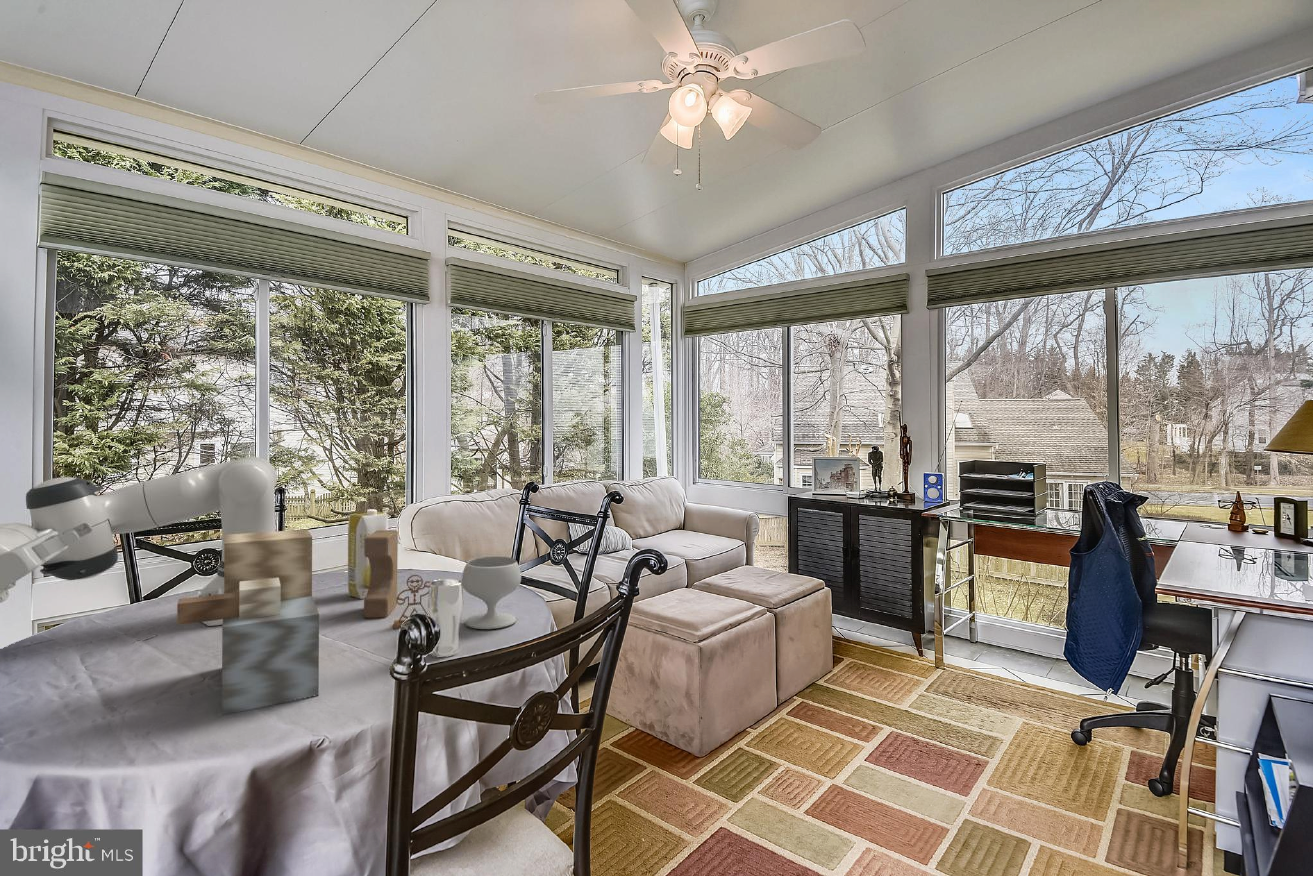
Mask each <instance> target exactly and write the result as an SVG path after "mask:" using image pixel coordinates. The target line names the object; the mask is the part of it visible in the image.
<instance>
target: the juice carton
mask: <svg viewBox="0 0 1313 876" xmlns="http://www.w3.org/2000/svg"><path fill="white" fill-rule="evenodd" d="M347 526H348V527H347V589H348V590H347V591H348V594H349V596H350V597H353V598H357V599H359V600H360V599H361V600H364V599H365V598H366V596H367V593H368V589H369V583H370V562H369V559H368V557H365V556H364V546H365V538H366V537H368V536H369V535H371V534H372V533H374V532H375V531H377V530H389V517H388V513H386V512H382V511H378V510H377V509H375V508H373V509H372V508H371V509H370V508H369V509H367V510H366V513H351V514H349V516H348V525H347Z"/></svg>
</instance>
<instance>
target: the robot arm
mask: <svg viewBox="0 0 1313 876" xmlns="http://www.w3.org/2000/svg"><path fill="white" fill-rule="evenodd" d="M277 482H278V474H277V470H276V469H275V466H274V465H273V464H272V463H271V462H269V461H268V460H266V459H264V458H262V457H258V456H247V457H246V456H245V457H242V458H238V459H233V460H229V461H226V462H222V463H221V462H220V463H217V464H212V465H209V466H204V467H199V468H196V469H192V470H188V471H185V472H183V471H182V472H180V473H179V472H178V473H174V474H171V475H167V476H162V477H159V478H154V479H149V480H146V481H141V482H136V483H134V484H130V485H126V486H123V487H121V488H118V489H115V490H113V491H109V492H107V493H103V494H102V495H98V494H97V493H96V492H99V491H102V490H104V489H105V488H104V486H101V485H99V486H96V485H95V483H93V482H91V481H90V480H87V479H85V478H81V477H71V476H65V477H64V476H63V477H61V476H60V477H55V478H51V479H48V480H45V481H43V482H41V483H40V484H37V485H36V486H34V487H31V488H30V489H29V490H28V491H27V492H26V494H25V504H26V509H27V510H29V513H30V514H29V515H30V518H31V519H30V520H31V523H32V526H31V525H29V524H27V523H26V524H25V523H19V522H18V523H17V522H15V523H14V522H13V523H2V524H0V604H1V603H3V602H5V601H6V600H8V598H9V595H10V594H9V590H10V589H12V588H14V587H15V586H16V585H17V581H19V580H21V579H23V578H24V577H25V576H27V575H29V574H30V573H32V572H33V571H35V570H36V569H38V568H39V567H43V568H41V569H40V570H39V572H40V573H41V574H42V575H51V576H53V577H55V578H56V579H61V580H65V581H75V580H86V579H91V578H94V577H97V576H99V575H101V574H103V573H105V572H107V571H108V570H109V569H111V568H113V567H114V566H115V565H116V564H117V563H118V559H119V554H118V553H119V552H118V546H115V541H114V536H113V535H120V534H121V535H122V534H129V533H137V532H142V531H147V530H153V529H156V528H159V527H160V528H161V527H163V526H164V527H165V526H168V525H172V524H175V523H180V522H183V521H188V520H191V519H195V518H198V517H203V516H205V515H208V514H212V513H215V512H217V511H220V520H221V521H220V523H221V560H219V561H216V563H217V565H216V567H217V570H216V571H217V573H216V575H217V576H215V577H214V578H213V579H212V580H211V581H210V582H209V583H208V584H206V585H205V586H204V587H203V588H202V589H201V590H200V594H198V597H200V596H209V595H218V594H224V543H225V535H231V534H246V533H260V532H275V531H276V529H277V527H276V510H275V508H276V507H275V506H276V505H275V487H276V485H277ZM203 623H204V625H205V624H206V625H205V626H208V627H211V626H222V625H223V619H221V620H213V621H205V622H203ZM203 623H202V624H203Z"/></svg>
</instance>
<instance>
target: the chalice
mask: <svg viewBox="0 0 1313 876" xmlns="http://www.w3.org/2000/svg"><path fill="white" fill-rule="evenodd" d="M461 576H462V577H461V580H462V587H463V589H464V591H465V592H466V593H467V594H470V595H471V596H474V597H476V598H477V599H480V600H481V601H482V602H483V603H485V605H486V607H487V610H486V612H485V613H481V614H480V613H479V614H476V615H473V616H470V617H469V618H467V620H465V625H466V626H467V627H469V628H471V629H477V630H494V629H501V628H506V627H509V626H512V625H514V624H515V623H516V622H517V620H518V619H517V617H515V615H513V614H510V613H504V612H496V606H497V604H498V603H499V602H500V600H502V599H503V598H505V597H507V596H509V595H510V594H512V593H513V592H515V591H516V590H517V589H518V588H519V587H520V585H521V581H522V573H521V569H520V565H519V563H518V561H517V560H516V558H513V557H509V556H508V557H507V556H483V557H475V558H472V559H470V560H468V561H467V563H466V564H465V566H464V568H463V571H462V575H461Z"/></svg>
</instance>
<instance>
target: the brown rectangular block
mask: <svg viewBox="0 0 1313 876" xmlns="http://www.w3.org/2000/svg"><path fill="white" fill-rule="evenodd" d="M176 605H177V608H176V612H177V613H176V615H177V616H176V618H177V622H176V623H177V624H176V625H177V626H181V625H189V624H196V623H202V622H205V621H213V620H221V619H228V618H236V617H239V620H242V619H249V618H257V617H264V616H272V615H279V614H280V610H281V585H280V581H279V578H269V579H259V580H250V581H240V586H239V592H236V593H227V594H218V595H209V596H200V597H199V596H194V597H193V596H192V597H191V596H190V597H184V598H178V601H177V604H176Z"/></svg>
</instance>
